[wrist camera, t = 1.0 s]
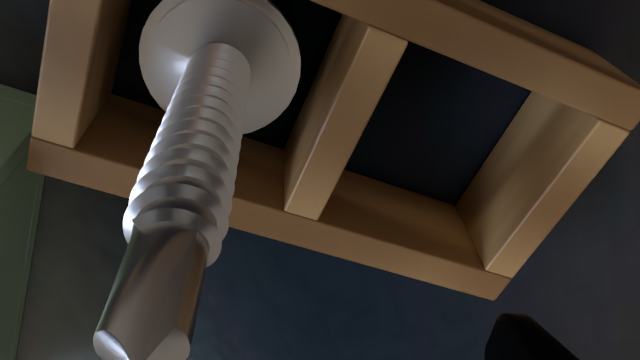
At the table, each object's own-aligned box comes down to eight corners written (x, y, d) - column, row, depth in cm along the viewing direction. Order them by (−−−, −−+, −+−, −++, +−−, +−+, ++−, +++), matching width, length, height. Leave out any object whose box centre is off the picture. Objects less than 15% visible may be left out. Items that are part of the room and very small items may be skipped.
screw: (327, 55, 18) (222, 132, 20) (233, -68, 16) (121, 29, 17) (387, 384, 7) (142, 503, 9) (119, 147, 5) (-154, 359, 6)
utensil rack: (464, 233, 23) (494, 301, 20) (71, 110, 19) (25, 170, 15) (593, 50, 19) (660, 98, 15) (119, -161, 14) (69, -160, 11)
